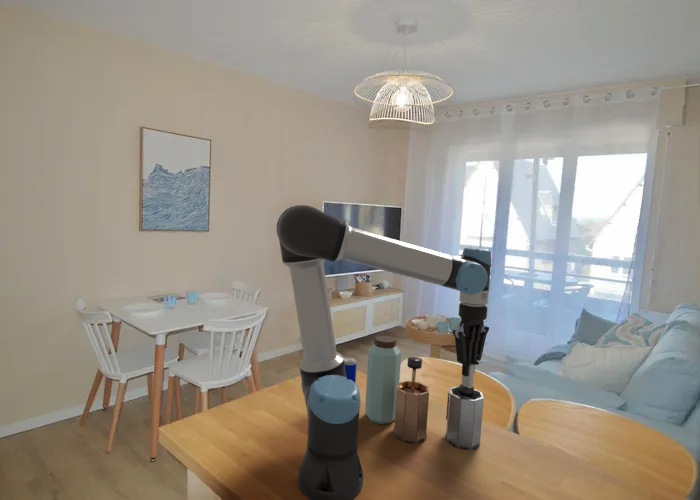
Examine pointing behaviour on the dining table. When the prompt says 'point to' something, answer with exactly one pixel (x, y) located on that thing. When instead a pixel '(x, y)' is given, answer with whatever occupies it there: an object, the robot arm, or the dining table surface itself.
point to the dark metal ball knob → (466, 391)
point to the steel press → (464, 419)
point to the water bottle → (382, 380)
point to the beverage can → (350, 368)
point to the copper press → (411, 413)
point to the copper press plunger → (414, 373)
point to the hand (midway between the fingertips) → (467, 386)
